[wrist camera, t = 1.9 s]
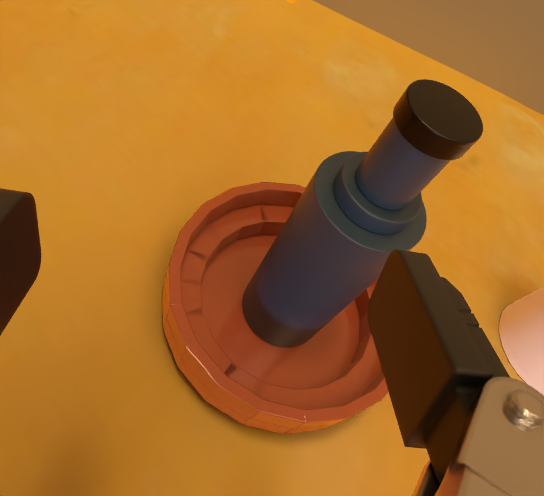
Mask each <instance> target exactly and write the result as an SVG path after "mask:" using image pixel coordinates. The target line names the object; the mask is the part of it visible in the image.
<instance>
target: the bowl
mask: <svg viewBox="0 0 544 496" xmlns="http://www.w3.org/2000/svg"><path fill="white" fill-rule="evenodd" d="M305 189H306V188H305V187H303V186H300V185H295V184H283V183H272V182H261V183H255V184H250V185H245V186H240V187H235V188H231V189H229V190H227V191H226V192H224V193H222V194H220V195H218V196H217V197H215V198H213V199H211V200H209V201H208V202H206V203H204V204H203V205H202V206H201V207H200V208H199V209H198V210H197V211H196V213H195V214H194V215H193V216H192V217H191V218H190V220H189V221H188V222H187V223H186V224H185V226H184V227H183V228H182V229H181V231H180V233H179V236H178V239H177V242H176V245H175V248H174V251H173V254H172V256H171V259H170V262H169V266H168V270H167V274H166V278H165V282H164V286H163V290H162V303H163V330H164V332H165V335H166V338H167V340H168V343H169V345H170V348H171V351H172V353H173V356H174V359H175V361H176V364H177V366H178V368H179V369H180V370H181V372H182V373H183V374H184V375H185V377H186V378H187V379H188V380H189V381H190V383H191V384H192V385H193V386H194V388H195V389H196V390H197V391H198V393H199V394H200V395H201V396H202V397H203V399H204V400H205V401H206V402H208V403H210V404H211V405H213V406H214V407H216V408H217V409H219V410H221V411H222V412H224V413H225V414H227V415H228V416H230V417H231V418H233V419H235V420H236V421H238V422H239V423H241V424H243V425H248V426H252V427H256V428H260V429H264V430H268V431H272V432H276V433H281V434H288V433H296V432H305V431H313V430H321V429H324V428H326V427H329V426H331V425H333V424H336V423H338V422H340V421H343V420H345V419H347V418H349V417H351V416H353V415H355V414H357V413H359V412H361V411H362V410H364V409H366V408H368V407H370V406H372V405H374V404H375V403H377V402H379V401H381V400H382V399H383V398H384V397H385V395H386V394H387V393H388V392H389V391H388V388H387V384H386V381H385V378H384V374H383V371H382V367H381V364H380V361H379V357H378V354H377V351H376V347H375V344H374V340H373V337H372V334H371V330H370V327H369V323H368V304H369V300H370V297H371V295H372V293H373V290H374V288H375V286H376V283H377V281H378V279H379V278H378V279H377V280H376V281H375V282H374V283H372V284H371V285H370V286H369V287H368V288H367V289H366V290H365V291H363V292H362V293H361V294H360V295H359V296H358V297H357V298H356V299H355V300H353V301H352V302H351V303H350V304H349V305H348V306H347V307H346V308H344V309H343V310H342V311H341V312H340V313H339V314H338V315H337V316H335V317H334V318H333V319H332V320H331V321H330V322H329V323H328V324H326V325H325V326H324V327H323V328H322V329H321V330H320V331H319V332H318V333H316V334H315V335H314V336H313V337H312V338H311V339H310V340H308V341H307V342H306V343H304V344H302V345H299V346H296V347H290V348H283V347H277V346H274V345H271V344H269V343H267V342H265V341H263V340H262V339H261V338H259V337H258V336H257V335H256V334H255V333H254V332H253V331H252V330H251V328H250V327H249V325H248V323H247V322H246V319H245V317H244V313H243V308H242V299H243V294H244V291H245V289H246V287H247V285H248V284H249V282H250V280H251V279H252V277H253V275H254V274H255V272H256V270H257V269H258V267H259V265H260V264H261V262H262V260H263V259H264V257H265V255H266V254H267V252H268V250H269V249H270V247H271V245H272V244H273V242H274V240H275V239H276V237H277V235H278V234H279V232H280V230H281V229H282V227H283V225H284V224H285V222H286V220H287V219H288V217H289V215H290V214H291V212H292V210H293V209H294V207H295V205H296V204H297V202H298V200H299V199H300V197H301V195H302V194H303V192H304V191H305Z"/></svg>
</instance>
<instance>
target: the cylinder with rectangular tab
mask: <svg viewBox="0 0 544 496" xmlns="http://www.w3.org/2000/svg"><path fill="white" fill-rule="evenodd" d="M499 333H500V338H501V342H502V346H503V349H504V351H505V353H506V356H507V358H508V360H509V362H510V364H511V365H512V366H513V368H514V369H515V371H516V372H517V374H518V375H519V376H520V377H521V378H522V379H523V380H524V381H525V382H526V384H528V385H530V386H531V387H533V388H534V389H536V390H537V391H539V392H540V393H541V394H543V395H544V286H543V287H541V288H539V289H537V290H535V291H533V292H532V293H530V294H528V295H526V296H524V297H522V298H520V299H518V300H517V301H515V302H513V303H511V304H509V305H507V307H506V308H505V309H504V311H503V312H502V315H501V318H500V322H499Z"/></svg>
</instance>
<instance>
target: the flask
mask: <svg viewBox="0 0 544 496" xmlns="http://www.w3.org/2000/svg"><path fill="white" fill-rule="evenodd" d="M482 132H483V124H482V120H481V118H480V116H479V114H478V112H477V111H476V109H475V108H474V106H473V105H472V104H471V103H470V102H469V101H468V100H467V99H466V98H465V97H464V96H463V95H461V94H460V93H459V92H457V91H456V90H454V89H453V88H451V87H449V86H447V85H445V84H443V83H440V82H437V81H433V80H425V79H424V80H417V81H415V82H413V83H411V84H410V85H409V86H408V88H407V89H406V91H405V92H404V93H403V95H402V96H401V98H400V99H399V101H398V102H397V103H396V105H395V107H394V111H393V118H392V120H391V121H390V122H389V124H388V125H387V127H386V128H385V129H384V131H383V132H382V134H381V135H380V136H379V138H378V139H377V141H376V142H375V143H374V145H373V146H372V148H371V149H370V150H369V152H354V151H347V152H340V153H337V154H334V155H332V156H330V157H328V158H327V159H325V160H324V161H323V162H322V163H321V164H320V166H319V167H318V169H317V171H316V172H315V174H314V176H313V177H312V179H311V181H310V182H309V184H308V186H307V187H306V189H305V191H304V192H303V194H302V195H301V197H300V199H299V200H298V202H297V204H296V205H295V207H294V209H293V210H292V212H291V214H290V215H289V217H288V219H287V220H286V222H285V224H284V225H283V227H282V229H281V230H280V232H279V234H278V235H277V237H276V239H275V240H274V242H273V244H272V245H271V247H270V249H269V250H268V252H267V254H266V255H265V257H264V259H263V260H262V262H261V264H260V265H259V267H258V269H257V270H256V272H255V274H254V275H253V277H252V279H251V280H250V282H249V284H248V285H247V287H246V289H245V291H244V294H243V299H242V308H243V313H244V317H245V319H246V322H247V323H248V325H249V327H250V328H251V330H252V331H253V332H254V333H255V334H256V335H257V336H258V337H259V338H261V339H262V340H263V341H265V342H267V343H269V344H271V345H274V346H277V347H283V348H290V347H296V346H299V345H302V344H304V343H306V342H307V341H308V340H310V339H311V338H312V337H313V336H314V335H315V334H316V333H318V332H319V331H320V330H321V329H322V328H323V327H324V326H325V325H326V324H328V323H329V322H330V321H331V320H332V319H333V318H334V317H335V316H337V315H338V314H339V313H340V312H341V311H342V310H343V309H344V308H346V307H347V306H348V305H349V304H350V303H351V302H352V301H353V300H355V299H356V298H357V297H358V296H359V295H360V294H361V293H362V292H363V291H365V290H366V289H367V288H368V287H369V286H370V285H371V284H372V283H374V282H375V281H376V280H377V279H378V278H379V277H380V274H381V272H382V270H383V267H384V265H385V263H386V260H387V258H388V256H389V254H390V253H391V252H392V251H393V250H395V249H396V250H403V251H409V250H411V249H412V248H413V247H414V246H415V245H416V244H417V243H418V242H419V241H420V240H421V238H422V236H423V234H424V232H425V228H426V211H425V207H424V204H423V201H422V197H421V191H422V190H423V189H424V188H425V187H426V186H427V185H428V184H429V182H430V181H431V180H432V179H433V178H434V177H435V176H436V175H437V174H438V173H439V172H440V171H441V170H442V169H443V168H444V167H445V166H446V165H447V164H448V163H449V162H450V160H455V159H458V158H460V157H461V156H463V155H464V154H465V153H466V152H467V151H468V150H469V149H470V147H471V146H472V145H473V144H474V143H475V142H476V141H477V140H478V139H479V138H480V137H481V135H482Z"/></svg>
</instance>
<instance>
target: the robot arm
mask: <svg viewBox="0 0 544 496" xmlns="http://www.w3.org/2000/svg"><path fill="white" fill-rule="evenodd" d="M40 263H41V247H40V238H39V230H38V221H37V213H36V204H35V200H34V197H33V195H32V194H31V193H27V192H21V191H14V190H7V189H1V188H0V335H1V333H2V332H3V330H4V329H5V327H6V326H7V324H8V322H9V321H10V319H11V318H12V316H13V315H14V313H15V311H16V310H17V308H18V307H19V305H20V303H21V302H22V300H23V299H24V297H25V296H26V294H27V292H28V291H29V289H30V288H31V286H32V285H33V283H34V281H35V280H36V277H37V275H38V272H39V269H40ZM368 323H369V327H370V330H371V334H372V337H373V340H374V344H375V347H376V351H377V354H378V357H379V361H380V364H381V367H382V371H383V374H384V378H385V381H386V384H387V388H388V391H389V394H390V398H391V401H392V405H393V408H394V411H395V415H396V418H397V421H398V425H399V428H400V432H401V435H402V438H403V442H404V445H405V447H414V448H426V449H427V451H428V454H429V457H430V459H429V461H428V462H427V463H426V465H425V467H424V468H423V471H422V473H421V475H420V478H419V480H418V482H417V485H416V487H415V489H414V492H413V494H412V496H544V395H543V394H541V393H540V392H539V391H537V390H536V389H534V388H533V387H531V386H530V385H528V384H526V383H524V382H522V381H519V380H516V379H513V378H510V376H509V375H508V373H507V371H506V370H505V368H504V366H503V364H502V363H501V361H500V359H499V358H498V356H497V354H496V352H495V351H494V349H493V347H492V345H491V344H490V342H489V340H488V339H487V337H486V335H485V333H484V332H483V330H482V328H479V323H478V321H477V320H476V318H475V316H474V314H472V313H471V309H470V308H469V306H468V304H467V302H466V301H465V299H464V297H463V296H462V294H461V293H460V292H459V291H458V290H457V289H456V288H455V287H454V286H453V285H452V284H451V283H450V282H449V281H448V280H447V279H446V278H443V277H440V276H439V274H438V272H437V270H436V268H435V267H434V265H433V263H432V261H431V259H430V258H429V256H428V255H427V254H423V253H416V252H410V251H403V250H396V249H395V250H393V251H392V252H391V253H390V254H389V256H388V258H387V260H386V263H385V265H384V267H383V270H382V272H381V274H380V277H379V279H378V281H377V283H376V286H375V288H374V290H373V293H372V295H371V297H370V300H369V304H368Z"/></svg>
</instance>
